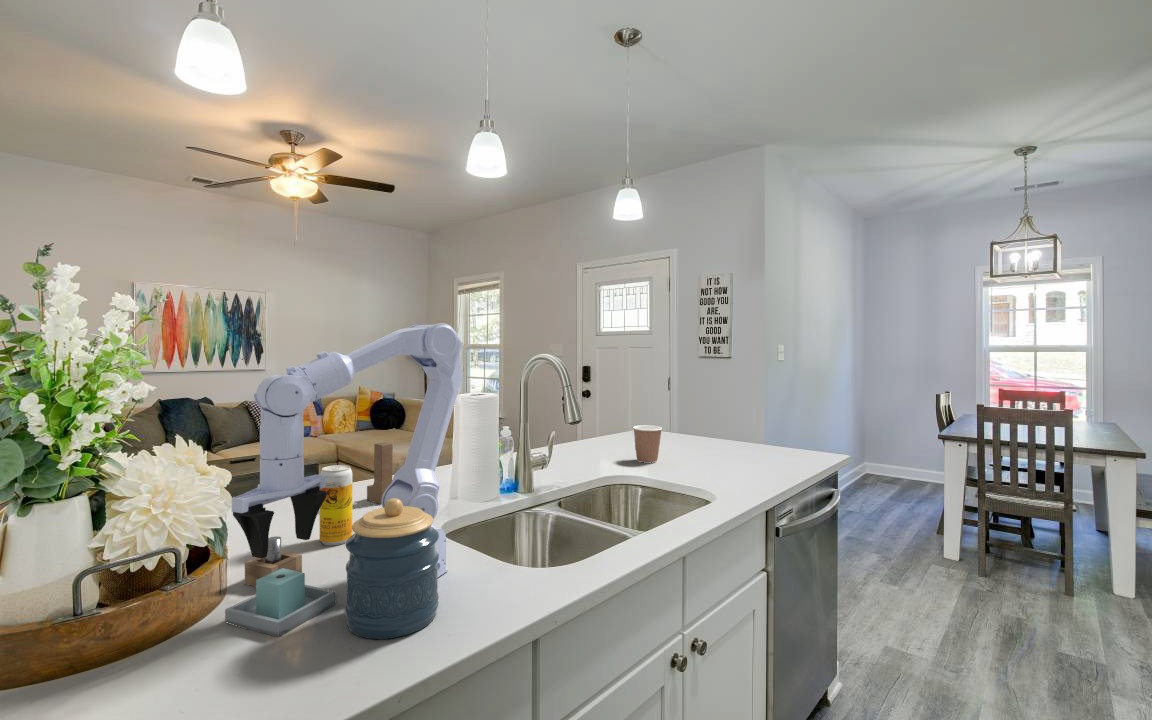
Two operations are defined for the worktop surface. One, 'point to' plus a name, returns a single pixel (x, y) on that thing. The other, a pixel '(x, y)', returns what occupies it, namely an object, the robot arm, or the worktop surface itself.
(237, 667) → the worktop surface
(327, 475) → the beer can
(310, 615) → the tray
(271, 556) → the cylinder
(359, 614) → the canister
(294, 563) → the brown wooden square frame
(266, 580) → the teal block
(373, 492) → the wooden block
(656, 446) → the coffee cup
